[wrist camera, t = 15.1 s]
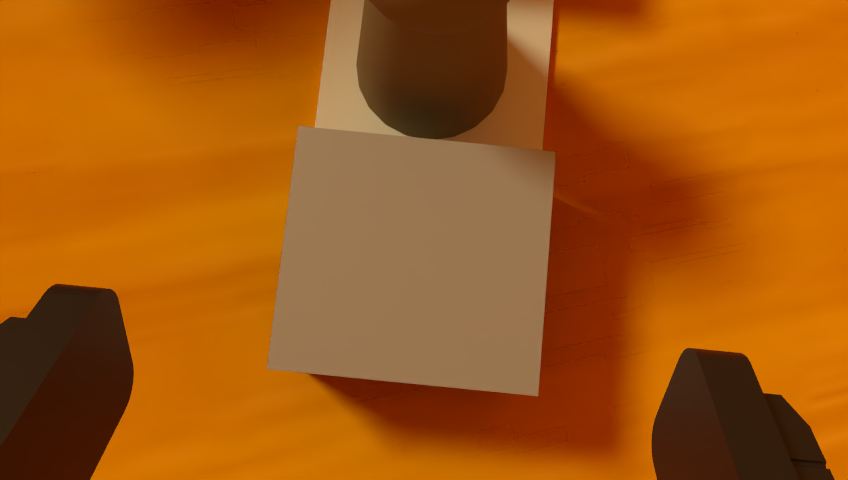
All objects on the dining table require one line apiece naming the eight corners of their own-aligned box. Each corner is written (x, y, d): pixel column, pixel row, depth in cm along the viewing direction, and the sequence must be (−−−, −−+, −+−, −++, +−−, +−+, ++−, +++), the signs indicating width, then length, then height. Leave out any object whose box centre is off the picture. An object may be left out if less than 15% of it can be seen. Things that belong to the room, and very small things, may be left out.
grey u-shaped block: (523, 389, 27) (544, 396, 23) (286, 365, 28) (260, 368, 23) (568, -201, 31) (594, -295, 27) (359, -221, 31) (350, -319, 27)
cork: (508, -3, 30) (562, -209, 19) (506, 142, 29) (562, 13, 18) (359, -7, 30) (326, -216, 19) (353, 137, 29) (315, 6, 18)
